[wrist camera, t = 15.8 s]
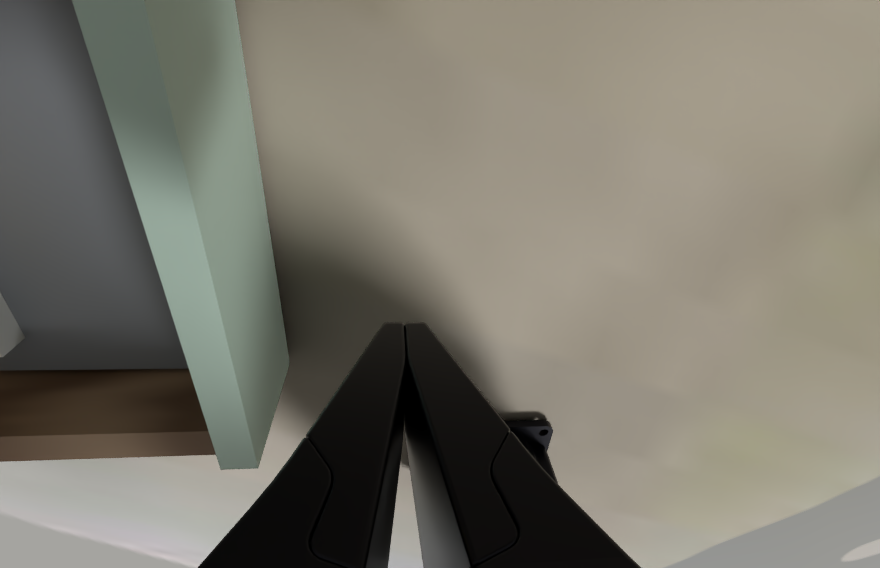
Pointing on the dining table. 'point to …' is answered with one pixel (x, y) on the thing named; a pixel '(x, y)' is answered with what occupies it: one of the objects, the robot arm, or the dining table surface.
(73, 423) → the dock
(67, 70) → the tray
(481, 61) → the dining table surface
